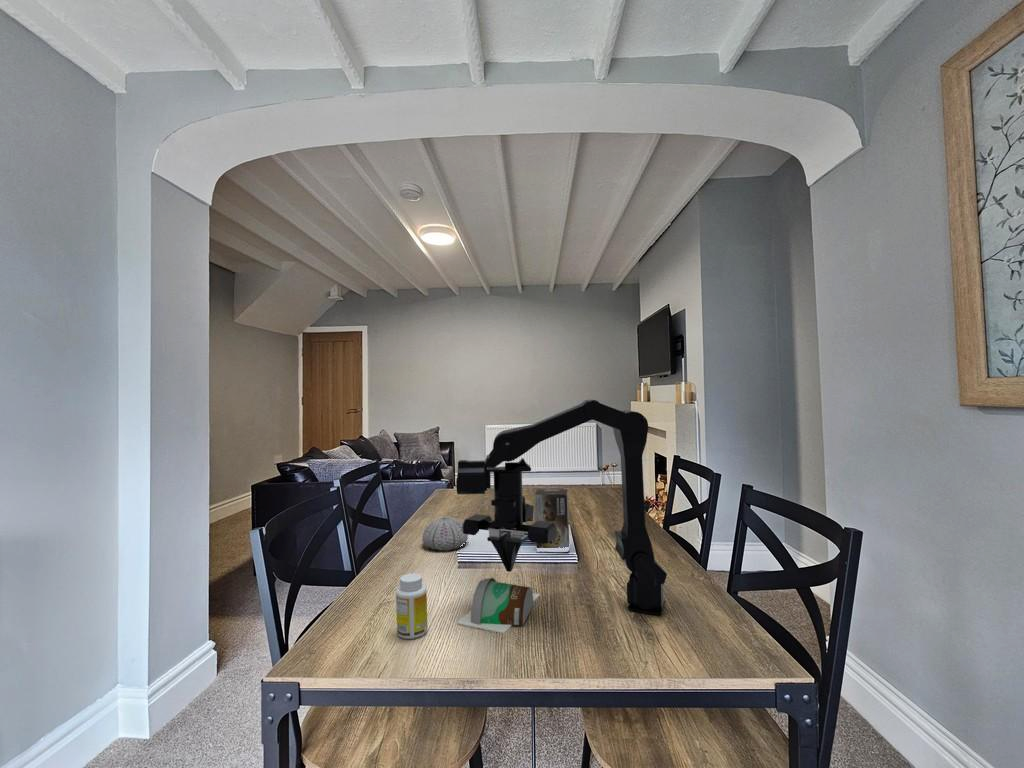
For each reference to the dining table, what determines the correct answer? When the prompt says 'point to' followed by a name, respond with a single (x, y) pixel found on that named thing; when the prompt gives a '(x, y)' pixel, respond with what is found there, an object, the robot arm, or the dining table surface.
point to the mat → (492, 627)
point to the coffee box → (553, 515)
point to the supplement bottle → (411, 607)
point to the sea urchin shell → (444, 534)
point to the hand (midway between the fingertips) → (509, 570)
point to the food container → (500, 603)
